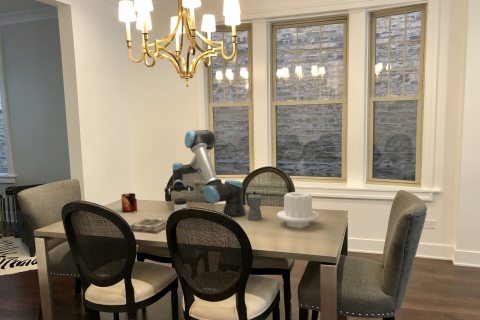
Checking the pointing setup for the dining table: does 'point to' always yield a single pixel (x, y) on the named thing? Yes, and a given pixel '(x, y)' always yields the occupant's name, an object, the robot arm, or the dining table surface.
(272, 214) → the dining table surface
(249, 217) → the coffeepot
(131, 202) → the mug
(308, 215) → the ribbed cylinder on disc
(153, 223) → the board
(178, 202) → the jar
